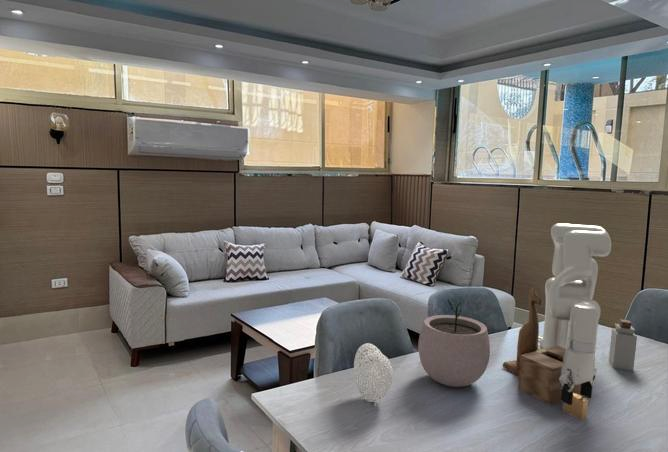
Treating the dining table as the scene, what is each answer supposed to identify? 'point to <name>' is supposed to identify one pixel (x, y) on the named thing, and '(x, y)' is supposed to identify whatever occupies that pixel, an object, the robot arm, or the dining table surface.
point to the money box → (543, 374)
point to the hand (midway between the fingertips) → (576, 399)
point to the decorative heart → (372, 373)
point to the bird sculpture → (526, 334)
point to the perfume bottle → (623, 346)
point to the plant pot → (454, 349)
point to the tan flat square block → (577, 406)
